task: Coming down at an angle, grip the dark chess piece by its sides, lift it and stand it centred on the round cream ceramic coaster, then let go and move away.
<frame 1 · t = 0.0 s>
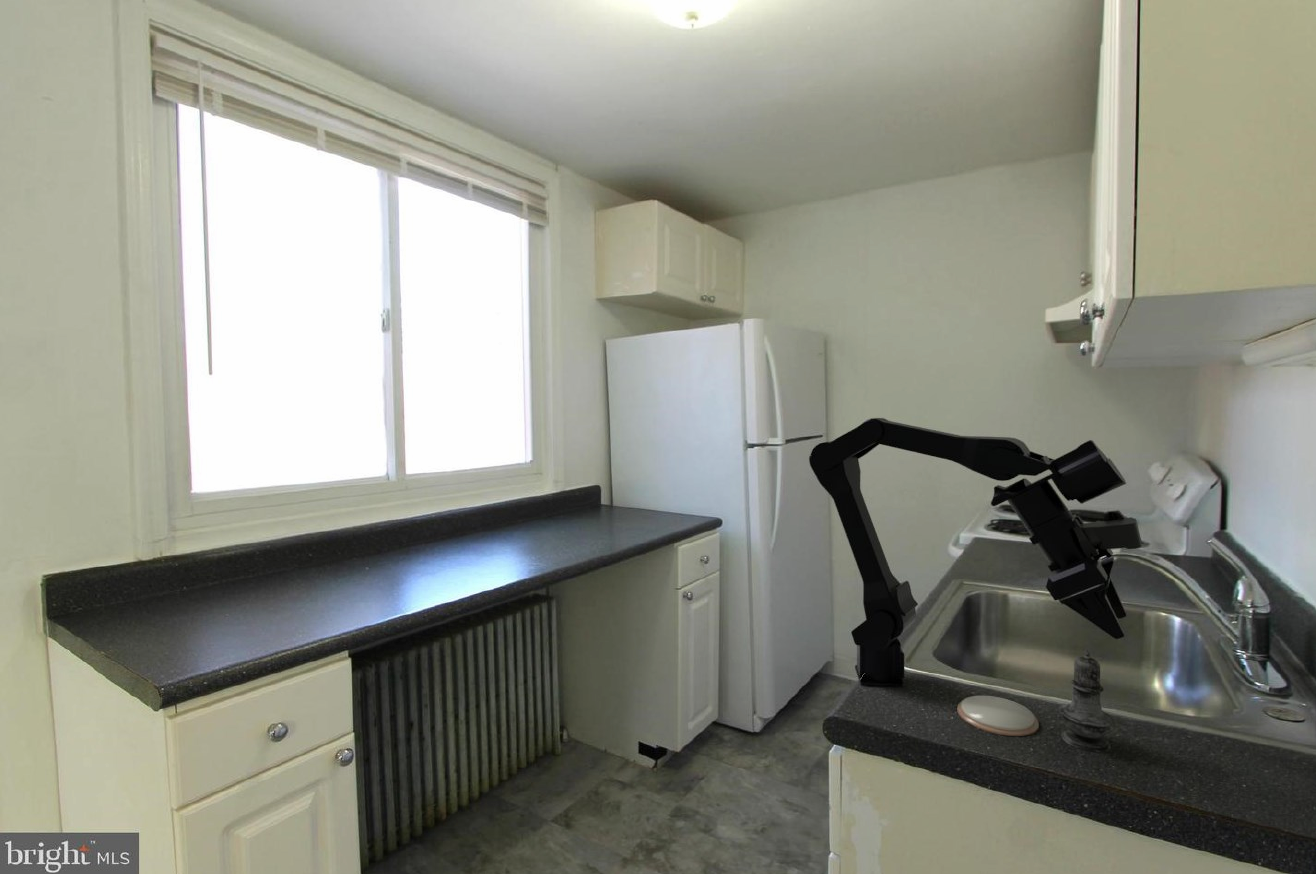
hand: (1121, 627, 81), 15 cm above the worktop, tool tilted 35°, fingers open, 9 cm apart
coaster: (996, 717, 88), on the worktop
dark chess piece: (1085, 742, 82), on the worktop
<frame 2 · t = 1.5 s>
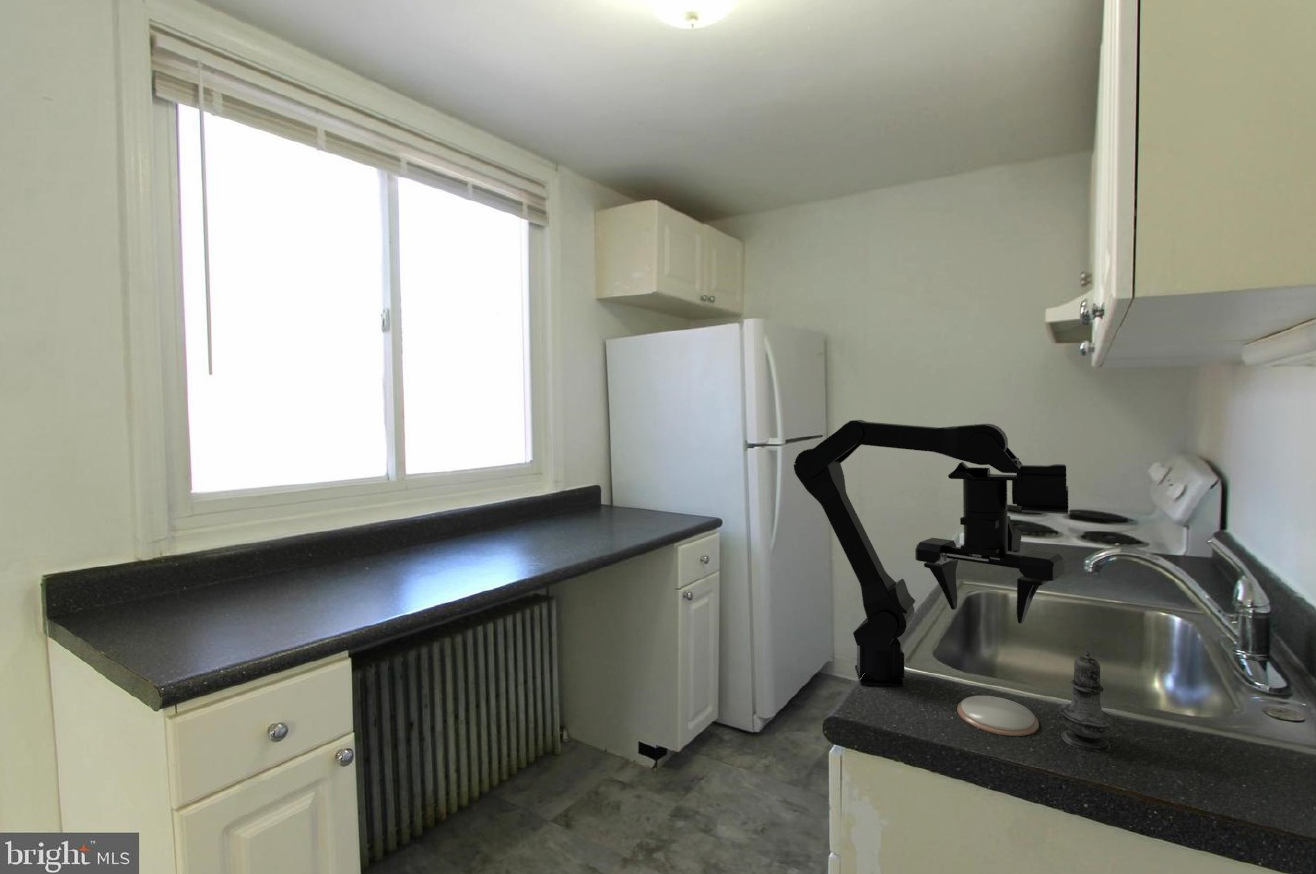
hand: (986, 615, 92), 13 cm above the worktop, tool pointing down, fingers open, 9 cm apart
nothing on the worktop moved.
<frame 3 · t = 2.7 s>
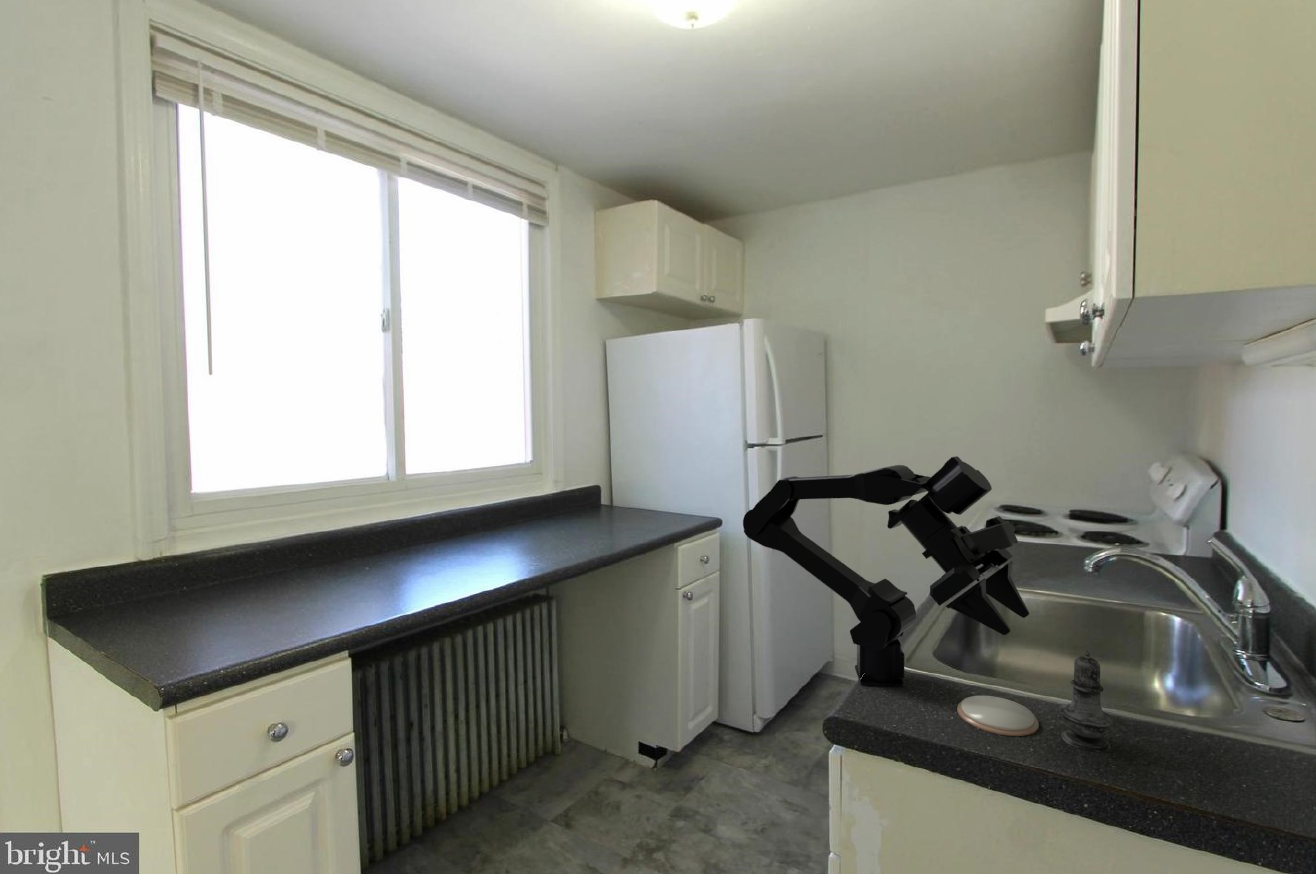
hand: (1017, 624, 87), 13 cm above the worktop, tool tilted 45°, fingers open, 9 cm apart
nothing on the worktop moved.
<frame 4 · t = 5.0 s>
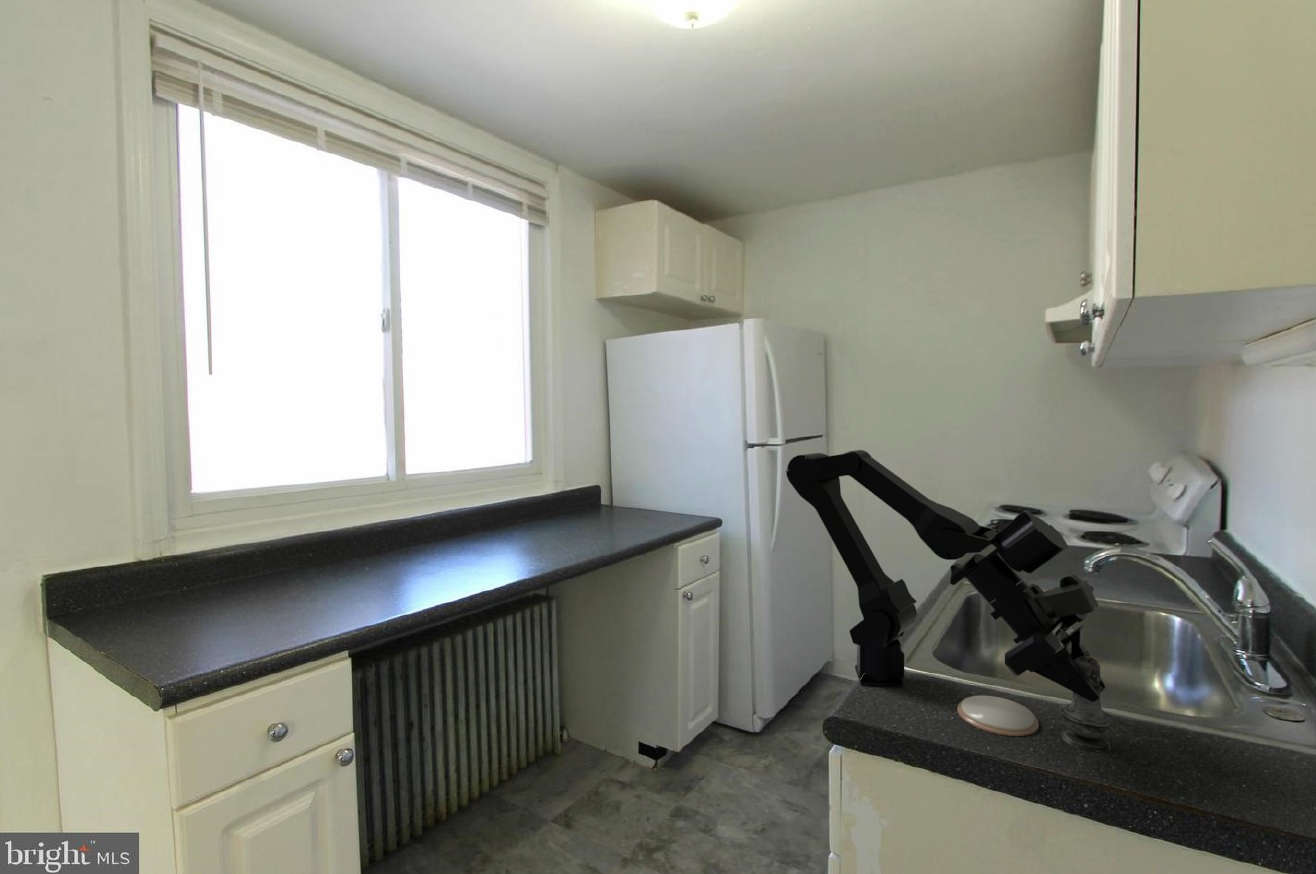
hand: (1099, 694, 80), 7 cm above the worktop, tool tilted 45°, fingers closed on dark chess piece, 4 cm apart
dark chess piece: (1085, 742, 82), on the worktop, touching gripper
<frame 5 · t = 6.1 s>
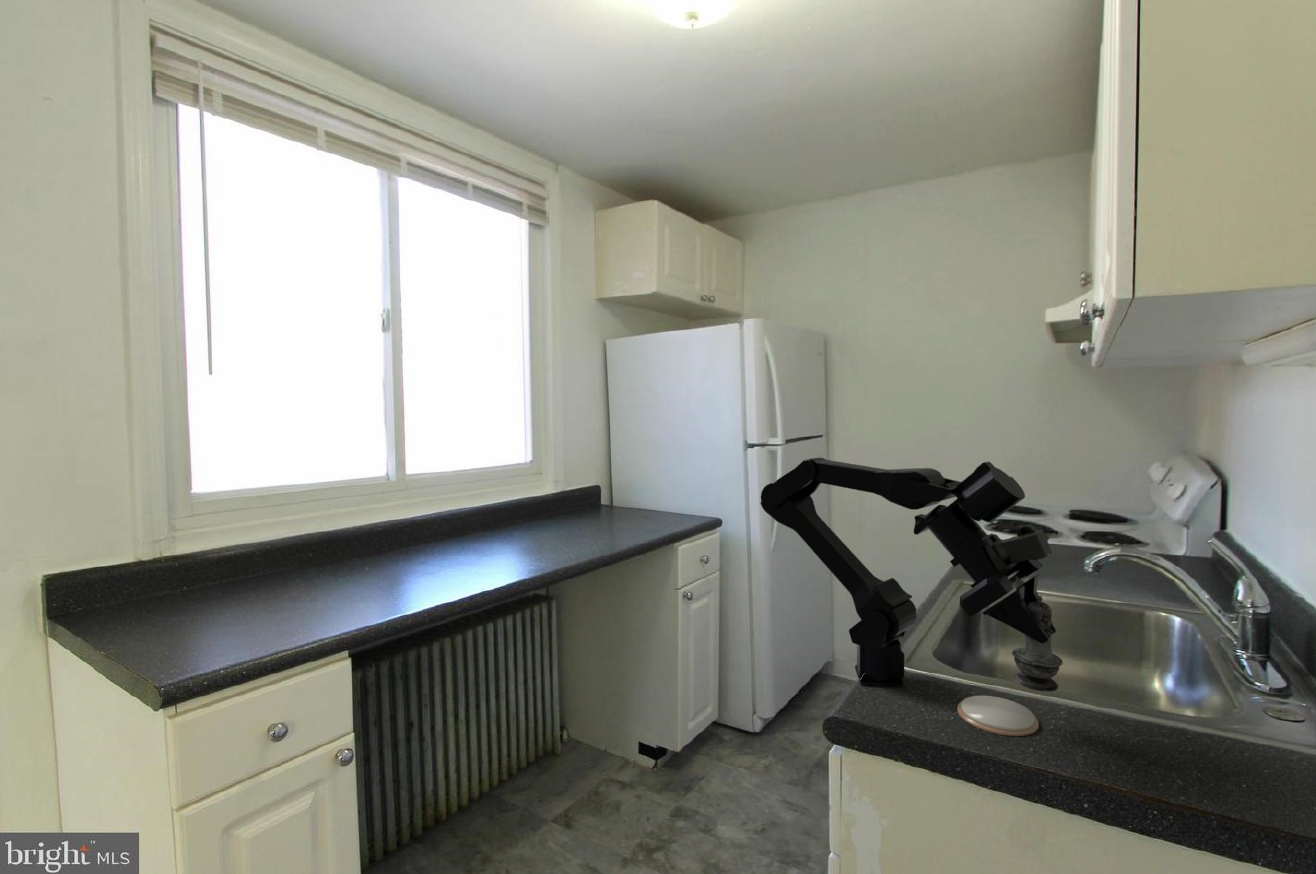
hand: (1049, 637, 84), 13 cm above the worktop, tool tilted 45°, fingers closed on dark chess piece, 4 cm apart
dark chess piece: (1035, 683, 85), point 6 cm above the worktop, touching gripper
when the fingers open (8 cm above the worktop, at t = 7.6 s): dark chess piece stays where it is, resting on coaster.
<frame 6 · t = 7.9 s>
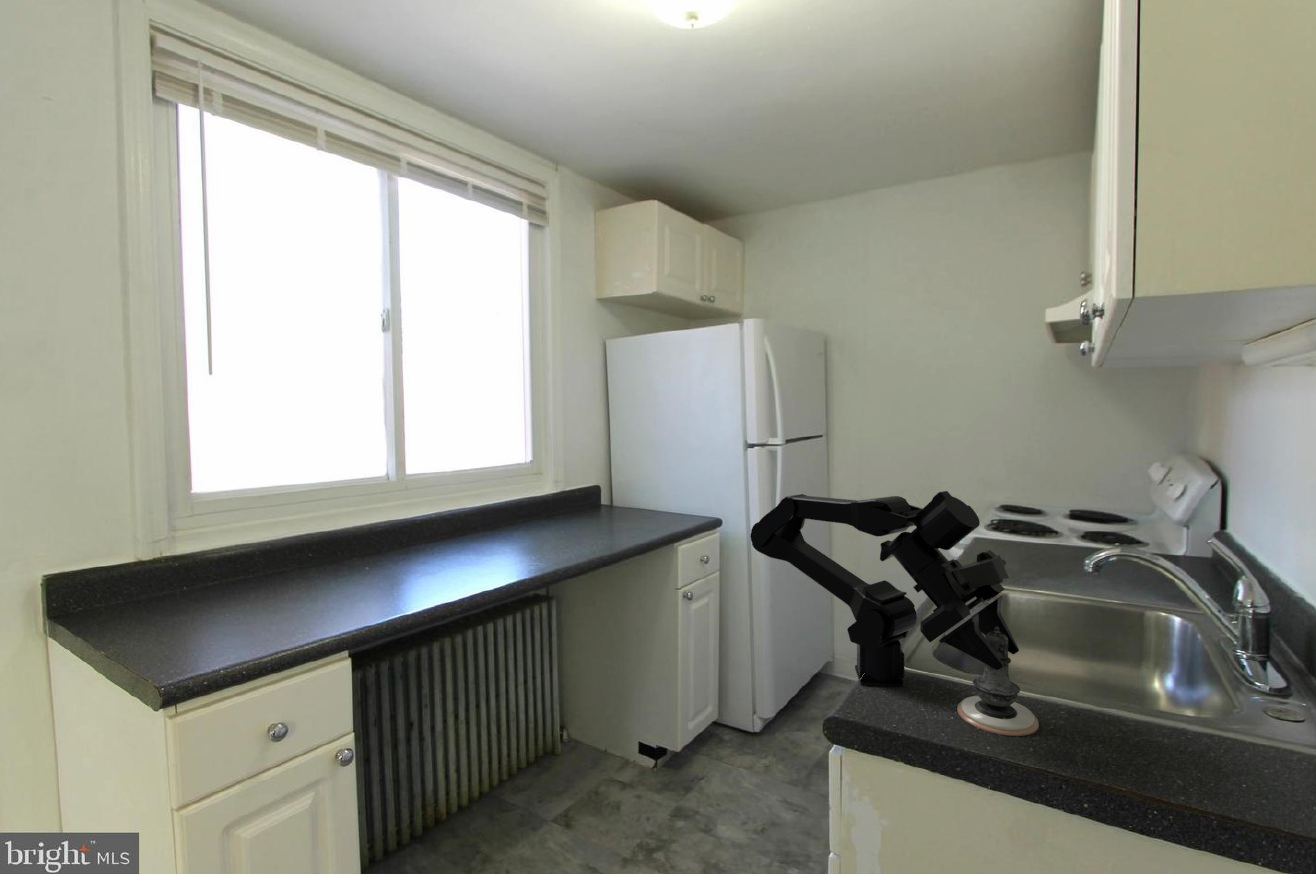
hand: (1008, 660, 87), 9 cm above the worktop, tool tilted 45°, fingers open, 7 cm apart
dark chess piece: (995, 711, 88), point 1 cm above the worktop, touching coaster
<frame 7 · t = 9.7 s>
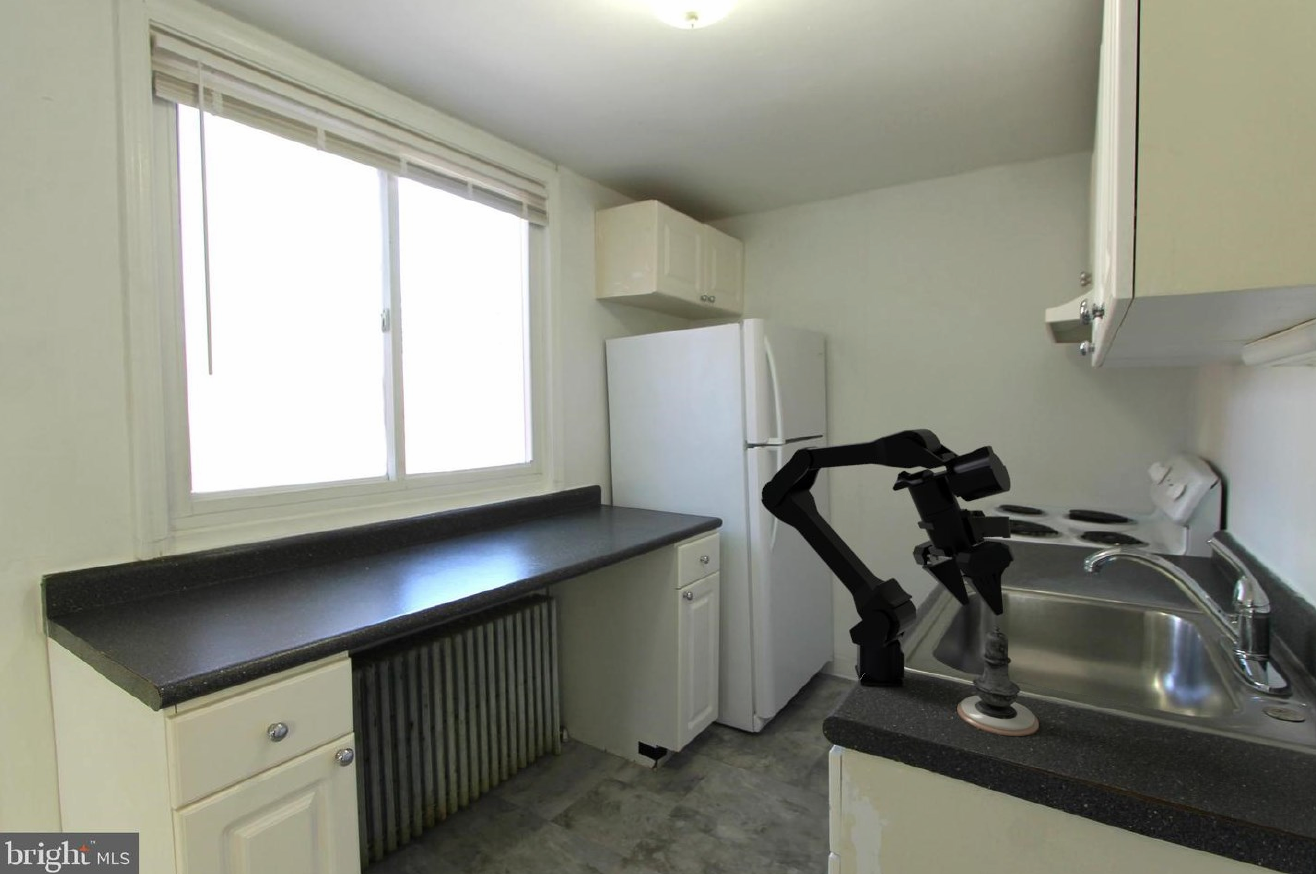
hand: (981, 609, 92), 14 cm above the worktop, tool tilted 20°, fingers open, 9 cm apart
nothing on the worktop moved.
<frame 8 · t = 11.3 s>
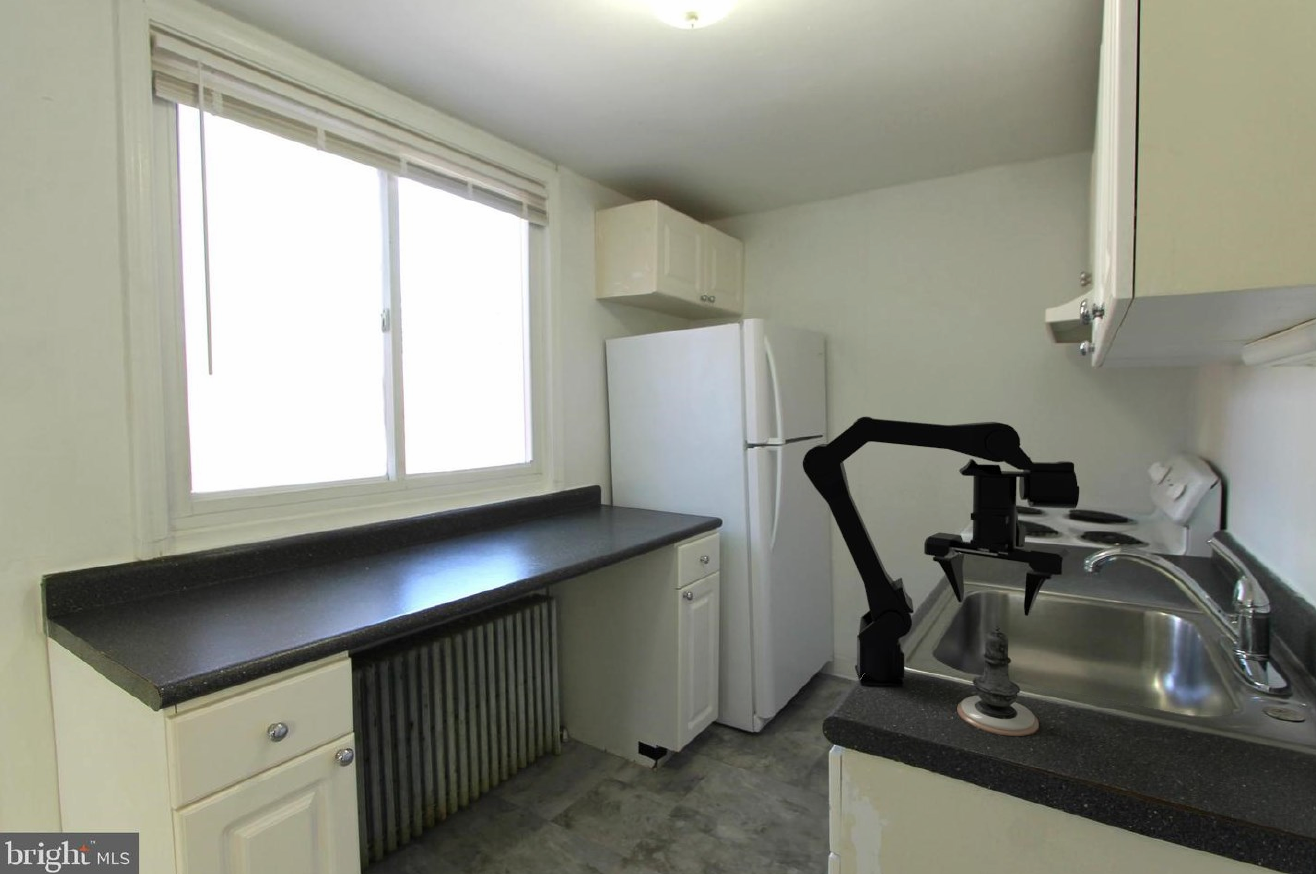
hand: (992, 608, 95), 13 cm above the worktop, tool pointing down, fingers open, 9 cm apart
nothing on the worktop moved.
at the end: dark chess piece 0.2 cm from the coaster (horizontally); dark chess piece tilted 0°; dark chess piece point 0.8 cm above the worktop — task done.
